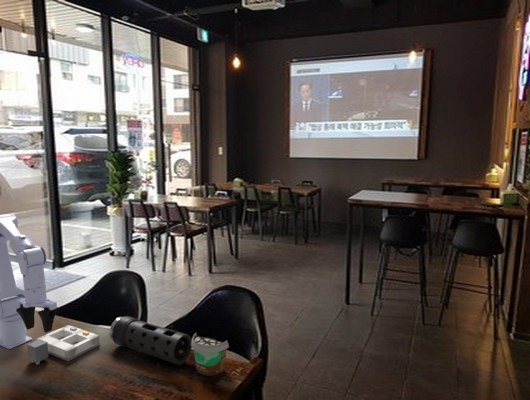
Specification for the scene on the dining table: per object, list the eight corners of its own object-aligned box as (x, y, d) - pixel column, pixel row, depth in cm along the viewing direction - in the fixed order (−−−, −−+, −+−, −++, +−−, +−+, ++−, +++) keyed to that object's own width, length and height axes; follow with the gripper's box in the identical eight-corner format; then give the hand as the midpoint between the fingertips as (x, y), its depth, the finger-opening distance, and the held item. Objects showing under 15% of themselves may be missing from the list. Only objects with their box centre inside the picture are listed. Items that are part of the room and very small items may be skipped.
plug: (28, 362, 129) (27, 344, 128) (40, 356, 132) (39, 339, 131) (36, 365, 127) (35, 347, 126) (48, 360, 130) (47, 342, 129)
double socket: (36, 348, 137) (36, 337, 137) (69, 334, 148) (68, 323, 147) (68, 361, 130) (67, 349, 129) (99, 345, 140) (99, 333, 140)
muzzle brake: (172, 373, 124) (172, 341, 122) (108, 350, 137) (106, 320, 136) (192, 359, 132) (192, 328, 131) (130, 338, 145) (129, 310, 144)
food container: (183, 371, 125) (182, 340, 123) (195, 361, 130) (194, 332, 129) (218, 382, 120) (217, 349, 118) (228, 371, 125) (228, 340, 124)
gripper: (6, 289, 125) (10, 332, 126) (40, 293, 120) (45, 337, 121) (26, 282, 132) (31, 323, 133) (60, 285, 126) (64, 328, 128)
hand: (39, 329), depth 127 cm, fingers open, 7 cm apart
